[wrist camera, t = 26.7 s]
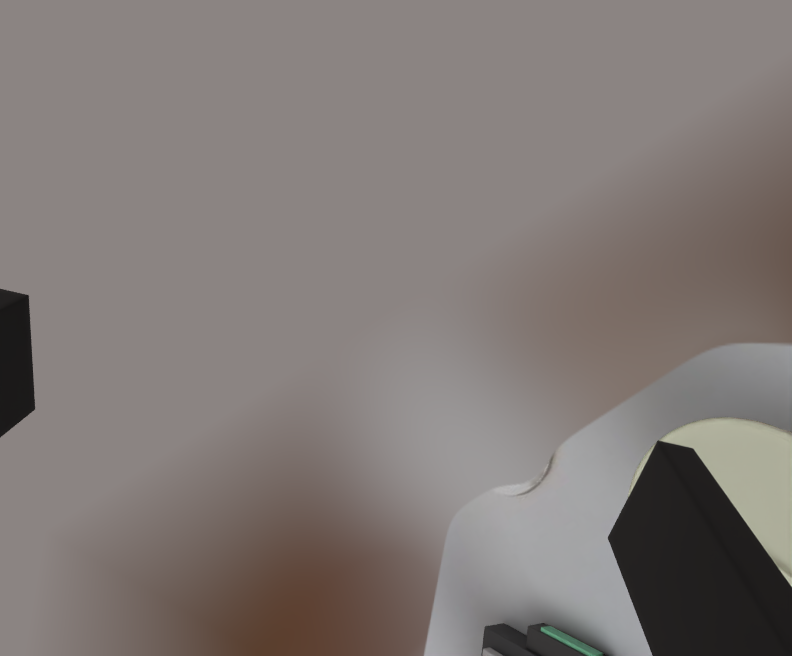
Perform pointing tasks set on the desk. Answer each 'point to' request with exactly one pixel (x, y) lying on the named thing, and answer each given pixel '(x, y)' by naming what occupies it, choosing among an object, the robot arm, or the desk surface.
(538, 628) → the scale
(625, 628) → the desk surface
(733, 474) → the can
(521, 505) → the desk surface
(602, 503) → the desk surface
